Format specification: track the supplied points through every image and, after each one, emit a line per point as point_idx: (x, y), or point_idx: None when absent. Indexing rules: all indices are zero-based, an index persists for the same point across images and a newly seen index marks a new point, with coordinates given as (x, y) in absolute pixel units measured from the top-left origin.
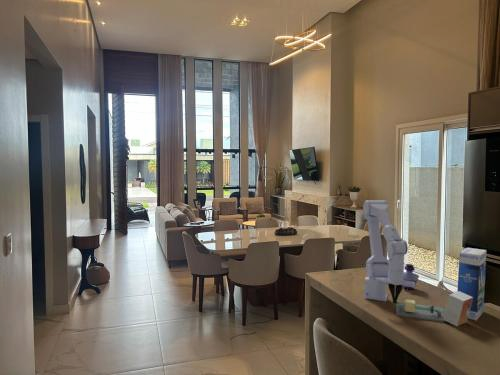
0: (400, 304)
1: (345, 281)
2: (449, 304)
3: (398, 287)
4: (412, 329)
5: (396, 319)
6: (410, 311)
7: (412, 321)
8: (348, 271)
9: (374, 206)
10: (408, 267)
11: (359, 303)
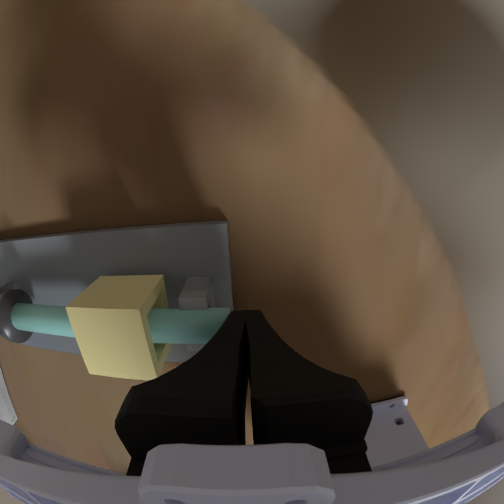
0: (193, 315)
1: None
2: None
3: (181, 432)
4: (128, 31)
5: (225, 137)
6: (125, 276)
7: (117, 158)
8: None
9: None
10: None
11: (445, 320)
